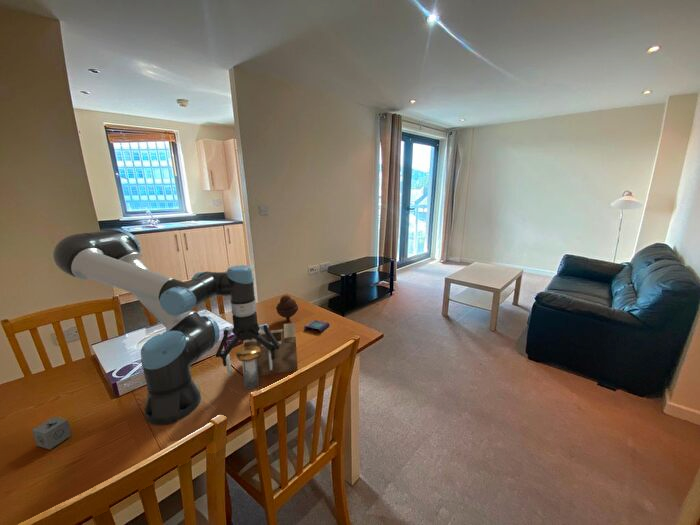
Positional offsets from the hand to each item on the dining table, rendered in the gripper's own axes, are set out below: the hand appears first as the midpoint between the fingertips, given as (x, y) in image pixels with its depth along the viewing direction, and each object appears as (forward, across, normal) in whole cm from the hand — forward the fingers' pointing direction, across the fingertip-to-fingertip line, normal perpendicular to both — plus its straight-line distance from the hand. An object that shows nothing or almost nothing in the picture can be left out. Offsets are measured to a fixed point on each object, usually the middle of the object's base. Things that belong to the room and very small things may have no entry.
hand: (250, 370), depth 101 cm
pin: (+6, 0, 0) cm, 6 cm away
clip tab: (-8, +1, +11) cm, 14 cm away
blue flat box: (+7, +25, +33) cm, 41 cm away
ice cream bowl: (+6, +13, +46) cm, 49 cm away
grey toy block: (+6, -51, -12) cm, 52 cm away
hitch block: (+6, +7, +11) cm, 14 cm away
